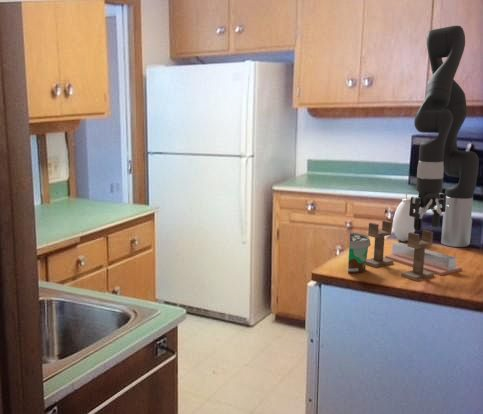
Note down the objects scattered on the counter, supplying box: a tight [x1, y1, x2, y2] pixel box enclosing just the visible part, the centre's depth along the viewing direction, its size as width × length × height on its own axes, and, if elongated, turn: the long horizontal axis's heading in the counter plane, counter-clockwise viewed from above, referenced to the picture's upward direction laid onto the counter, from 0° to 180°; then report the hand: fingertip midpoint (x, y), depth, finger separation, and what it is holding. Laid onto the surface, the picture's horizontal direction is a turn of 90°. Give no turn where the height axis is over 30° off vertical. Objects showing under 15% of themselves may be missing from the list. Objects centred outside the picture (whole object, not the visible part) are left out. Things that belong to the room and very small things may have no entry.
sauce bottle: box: [392, 191, 416, 242], centre depth 196 cm, size 8×8×18 cm
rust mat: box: [384, 254, 463, 276], centre depth 169 cm, size 10×21×1 cm, turn 34°
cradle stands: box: [366, 220, 435, 282], centre depth 161 cm, size 8×20×13 cm, turn 34°
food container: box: [347, 232, 371, 275], centre depth 161 cm, size 12×6×10 cm, turn 168°
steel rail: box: [391, 242, 457, 271], centre depth 168 cm, size 4×21×4 cm, turn 34°
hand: (426, 228), depth 167 cm, fingers open, 8 cm apart
